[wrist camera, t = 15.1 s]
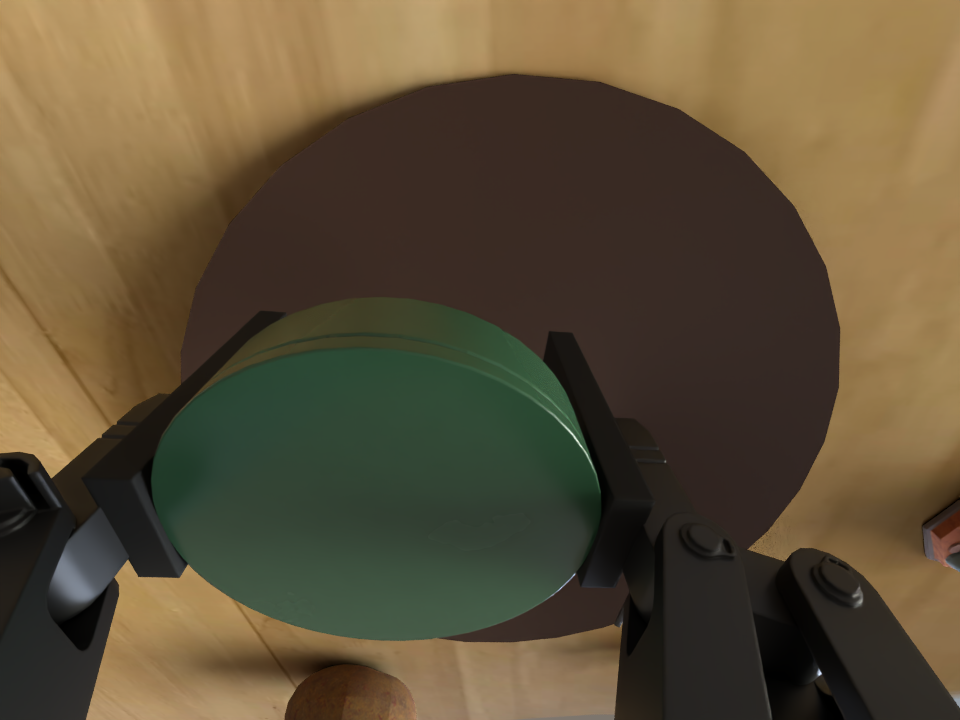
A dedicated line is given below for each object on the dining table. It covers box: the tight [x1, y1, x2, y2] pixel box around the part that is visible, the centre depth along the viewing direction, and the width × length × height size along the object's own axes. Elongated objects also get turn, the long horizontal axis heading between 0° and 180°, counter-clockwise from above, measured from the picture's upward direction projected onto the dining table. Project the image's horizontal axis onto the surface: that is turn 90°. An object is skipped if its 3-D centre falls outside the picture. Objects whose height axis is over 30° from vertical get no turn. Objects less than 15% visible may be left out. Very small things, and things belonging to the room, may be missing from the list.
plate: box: [181, 74, 840, 642], centre depth 18 cm, size 28×28×4 cm
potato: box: [285, 664, 417, 720], centre depth 30 cm, size 7×10×6 cm
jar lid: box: [150, 297, 602, 641], centre depth 8 cm, size 8×8×2 cm
